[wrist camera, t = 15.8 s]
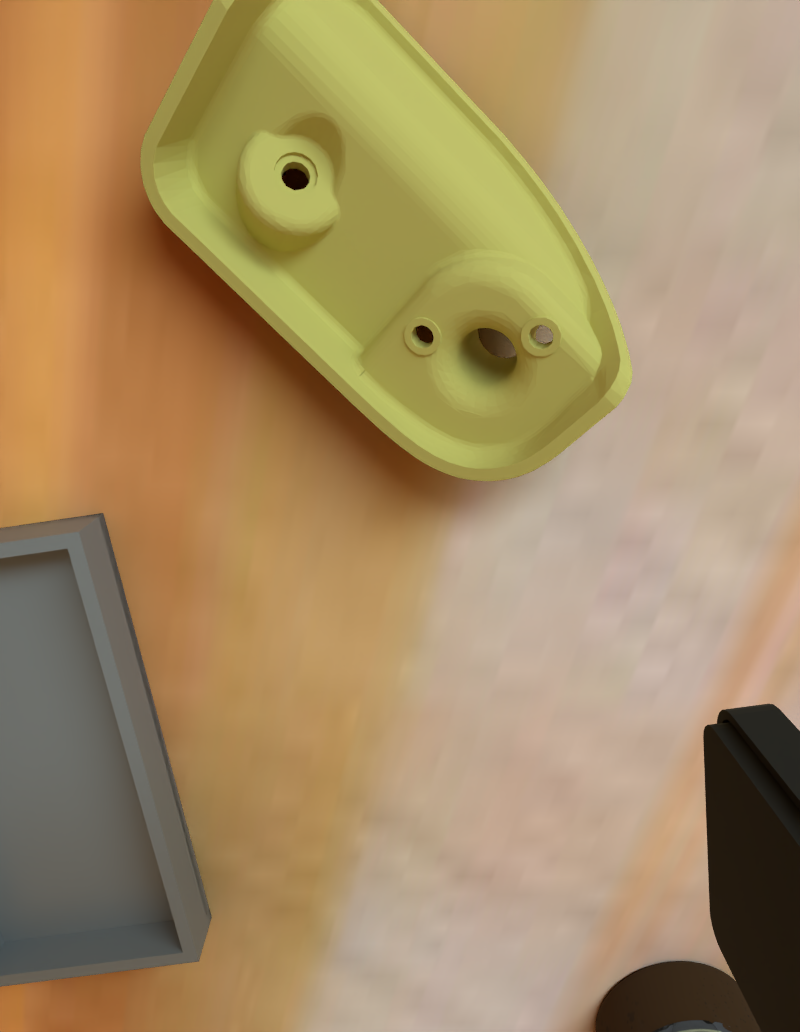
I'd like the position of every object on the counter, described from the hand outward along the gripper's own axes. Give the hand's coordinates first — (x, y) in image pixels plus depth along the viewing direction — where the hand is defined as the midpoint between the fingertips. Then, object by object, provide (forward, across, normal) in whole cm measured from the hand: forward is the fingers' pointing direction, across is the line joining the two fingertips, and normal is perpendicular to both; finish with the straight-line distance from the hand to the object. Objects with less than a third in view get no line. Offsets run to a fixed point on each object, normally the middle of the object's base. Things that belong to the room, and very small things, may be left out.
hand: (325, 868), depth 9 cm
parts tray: (+28, +20, +14) cm, 37 cm away
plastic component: (+28, +1, -5) cm, 29 cm away
